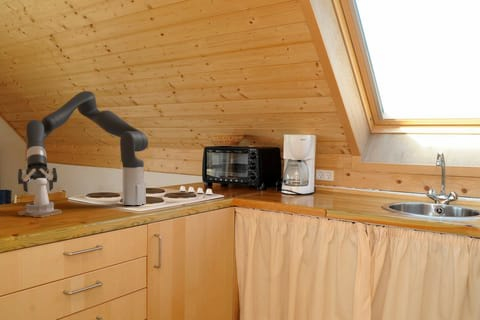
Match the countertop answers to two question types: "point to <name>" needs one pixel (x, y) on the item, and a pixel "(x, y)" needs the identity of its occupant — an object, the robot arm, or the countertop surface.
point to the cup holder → (39, 210)
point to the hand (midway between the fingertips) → (38, 190)
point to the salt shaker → (41, 192)
